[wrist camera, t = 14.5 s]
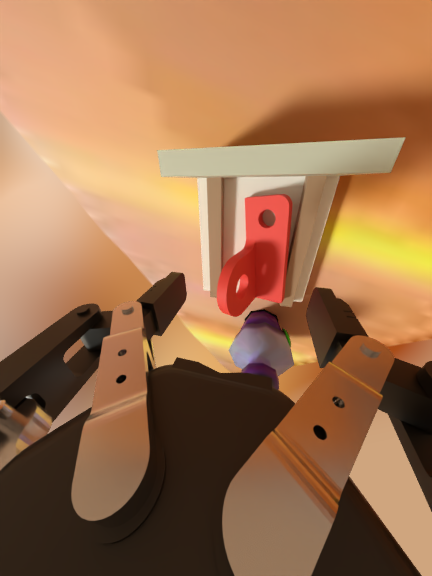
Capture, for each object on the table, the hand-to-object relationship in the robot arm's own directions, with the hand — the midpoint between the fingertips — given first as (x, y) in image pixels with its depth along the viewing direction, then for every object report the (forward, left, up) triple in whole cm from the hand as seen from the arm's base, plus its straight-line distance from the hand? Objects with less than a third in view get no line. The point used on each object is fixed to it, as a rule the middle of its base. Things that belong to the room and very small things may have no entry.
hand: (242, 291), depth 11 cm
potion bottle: (-3, +14, -14) cm, 20 cm away
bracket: (-2, +1, -11) cm, 12 cm away
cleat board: (0, 0, -14) cm, 14 cm away
